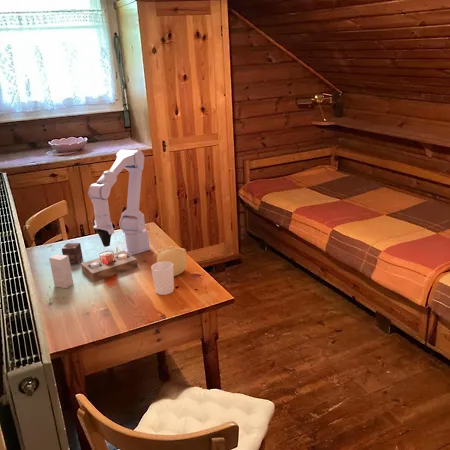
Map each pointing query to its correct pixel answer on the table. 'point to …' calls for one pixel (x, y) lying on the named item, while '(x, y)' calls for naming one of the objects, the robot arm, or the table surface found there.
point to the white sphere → (94, 265)
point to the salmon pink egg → (109, 258)
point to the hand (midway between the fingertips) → (106, 245)
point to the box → (73, 252)
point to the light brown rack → (109, 266)
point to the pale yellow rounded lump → (173, 258)
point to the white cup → (163, 277)
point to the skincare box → (61, 271)
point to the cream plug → (122, 256)
